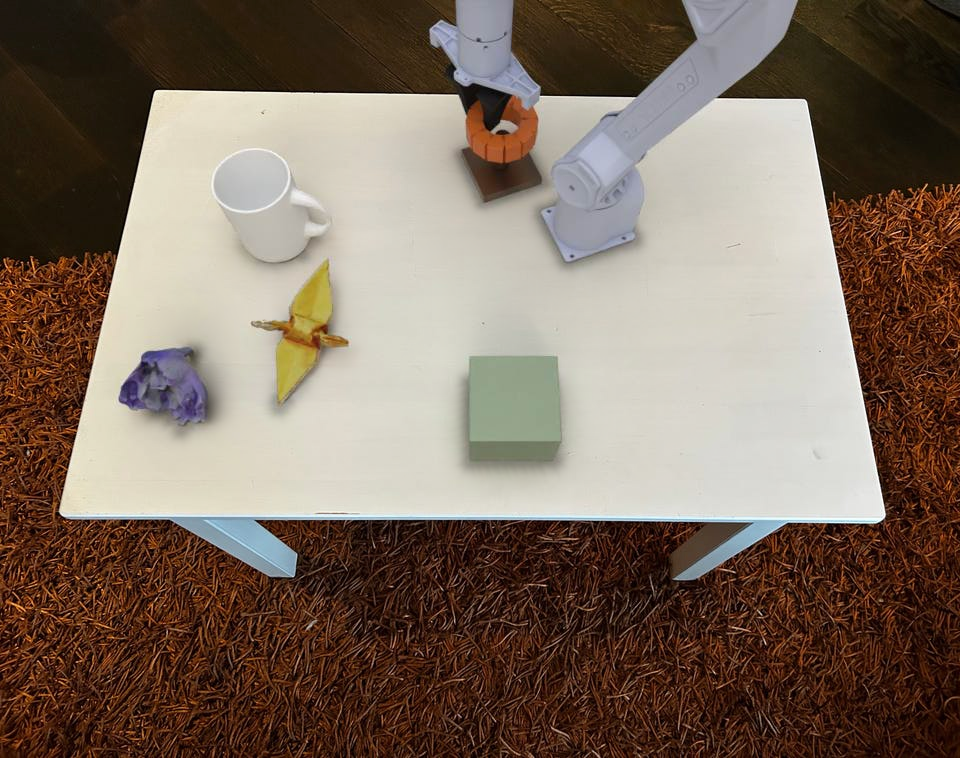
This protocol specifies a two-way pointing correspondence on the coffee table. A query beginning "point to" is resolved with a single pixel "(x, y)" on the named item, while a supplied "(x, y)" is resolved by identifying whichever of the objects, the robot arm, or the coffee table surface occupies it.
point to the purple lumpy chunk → (166, 385)
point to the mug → (265, 204)
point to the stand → (500, 174)
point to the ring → (502, 145)
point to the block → (514, 408)
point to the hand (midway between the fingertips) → (483, 119)
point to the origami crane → (304, 331)
